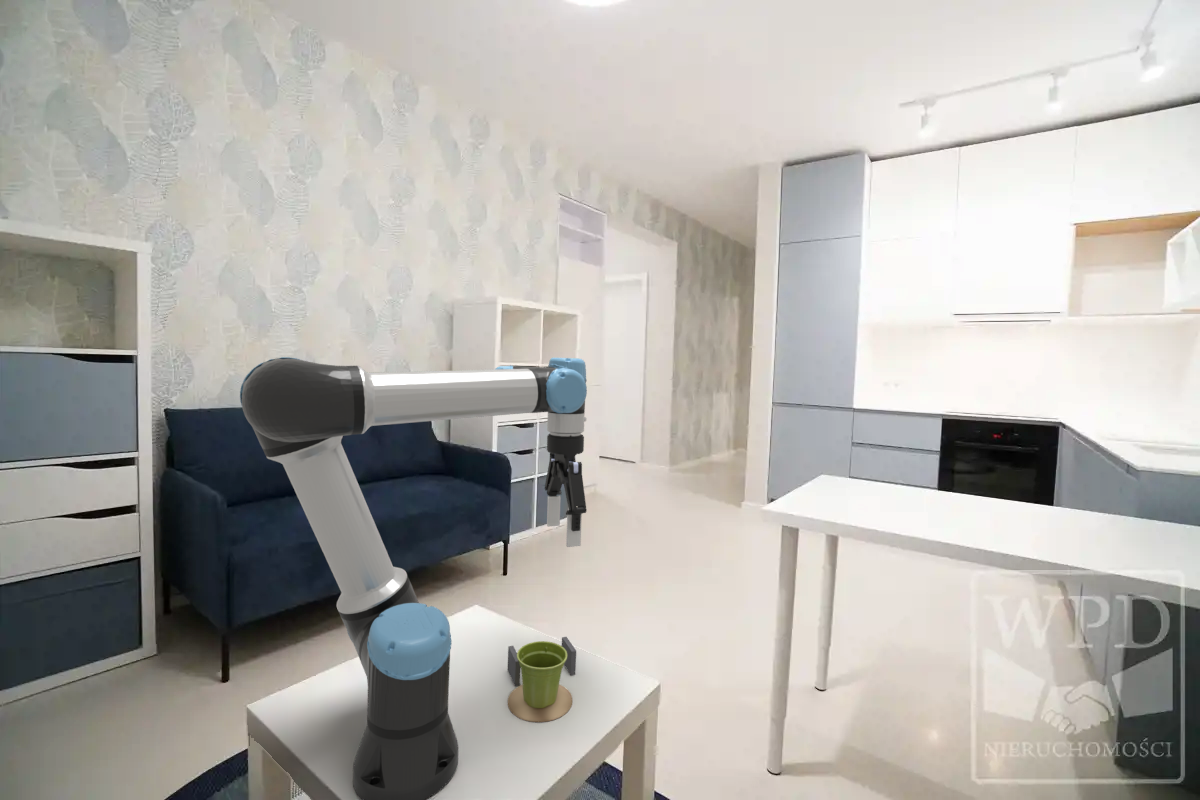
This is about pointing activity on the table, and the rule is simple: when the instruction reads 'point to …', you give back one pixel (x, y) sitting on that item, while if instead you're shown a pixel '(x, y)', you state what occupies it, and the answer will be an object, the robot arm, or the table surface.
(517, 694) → the coaster
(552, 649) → the plant pot
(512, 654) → the twin grey plates
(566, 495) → the robot arm
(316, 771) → the table surface
